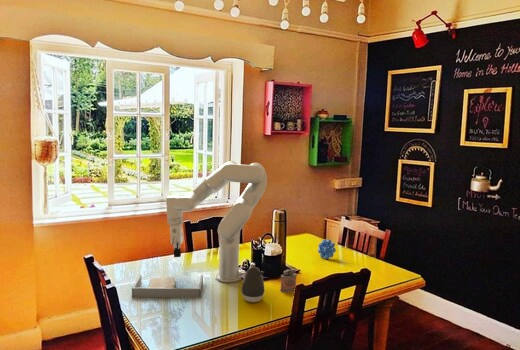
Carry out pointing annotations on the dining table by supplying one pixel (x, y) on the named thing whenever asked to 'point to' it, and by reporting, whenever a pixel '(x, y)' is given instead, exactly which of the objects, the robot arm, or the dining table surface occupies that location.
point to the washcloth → (162, 282)
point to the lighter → (288, 281)
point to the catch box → (165, 291)
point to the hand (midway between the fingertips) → (177, 256)
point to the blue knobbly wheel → (326, 249)
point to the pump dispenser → (253, 285)
